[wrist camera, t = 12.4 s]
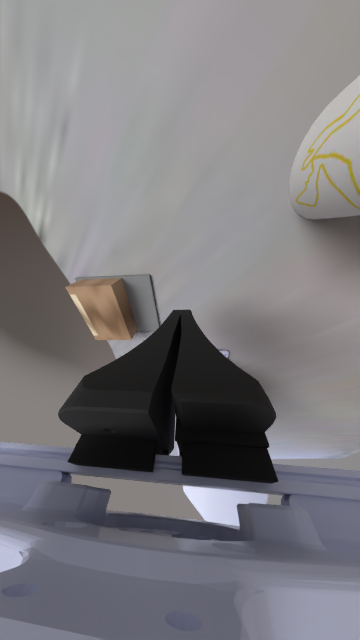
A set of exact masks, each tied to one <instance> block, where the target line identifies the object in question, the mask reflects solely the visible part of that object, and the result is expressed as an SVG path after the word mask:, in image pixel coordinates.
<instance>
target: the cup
mask: <svg viewBox="0 0 360 640" xmlns="http://www.w3.org/2000/svg"><path fill="white" fill-rule="evenodd" d="M289 195H290V200H291V204H292V206H293V208H294V209H295V211H296V212H297V213H298V214H299V215H301V216H302V217H304V218H307V219H326V218H337V217H349V216H360V75H359V76H358V77H357V78H356V79H355V80H354V81H353V82H352V83H351V84H350V85H348V86H347V87H346V88H345V89H344V90H343V91H342V92H341V93H340V94H339V95H338V96H337V97H335V98H334V99H333V100H332V101H331V103H330V104H329V105H328V106H327V107H326V108H325V109H324V110H323V112H322V113H321V114H320V115H319V117H318V118H317V119H316V121H315V122H314V124H313V125H312V126H311V128H310V130H309V131H308V133H307V135H306V136H305V138H304V140H303V142H302V144H301V146H300V148H299V150H298V153H297V155H296V158H295V160H294V163H293V167H292V170H291V175H290V182H289Z"/></svg>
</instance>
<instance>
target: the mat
mask: <svg viewBox="0 0 360 640" xmlns="http://www.w3.org/2000/svg"><path fill="white" fill-rule="evenodd" d="M108 278H122V281H123V284H124V287H125V290H126V294H127V297H128V300H129V303H130V306H131V309H132V313H133V316H134V319H135V322H136V325H137V330H136V332H155V331H156V330H157V329H158V328H159V327H160V326H159V321H158V316H157V310H156V305H155V300H154V294H153V289H152V283H151V278H150V275H126V276H101V277H77V278H75V280H76V282H78V281H80V280H85V279H108Z"/></svg>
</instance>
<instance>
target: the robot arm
mask: <svg viewBox="0 0 360 640" xmlns="http://www.w3.org/2000/svg"><path fill="white" fill-rule="evenodd" d="M225 354H226V355H225ZM228 355H229V352H228V351H226V350H218V349H217V348H216V347H215V346H214V345H213V344H212V343H211V342H210V341H209V340H208V339H207V337H206V336H205V335H204V334H203V332H202V331H201V329H200V328H199V326H198V325H197V323H196V321H195V320H194V317H193V315H192V312H191V310H173V311H172V312H171V314H170V315H169V316H168V318H167V319H166V320H165V321H164V322H163V324H162V325H161V326H160V327H159V328H158V329H157V330H156V331H155V332H154V333H153V334H152V335H151V336H150V337H148V338H147V339H146V340H145V341H144V342H142V343H141V344H139V345H138V346H137V347H135V348H134V349H132V350H131V351H129V352H128V353H126V354H125V355H123V356H121V357H120V358H118V359H116V360H115V361H113V362H111V363H109V364H108V365H105V366H103V367H101V368H100V369H98V370H96V371H94V372H92V373H90V374H88V375H86V376H84V377H83V379H82V380H81V381H80V383H79V384H78V385H77V387H76V388H75V390H74V391H73V392H72V394H71V395H70V396H69V398H68V399H67V400H66V402H65V403H64V405H63V406H62V407H61V409H60V410H59V413H58V416H59V418H60V420H61V421H62V422H64V423H65V424H66V425H68V426H69V427H71V428H73V429H74V430H76V431H77V432H79V433H80V434H82V435H81V437H80V439H79V441H78V442H77V444H76V446H75V448H70V447H59V446H46V445H33V444H22V443H10V442H0V640H360V471H352V470H341V469H328V468H316V467H304V466H292V465H279V464H272V461H271V458H270V455H269V453H268V450H267V448H268V447H269V443H268V440H267V437H266V435H265V431H266V430H267V429H268V428H269V427H270V426H271V425H272V424H273V422H274V421H275V419H276V413H275V411H274V408H273V406H272V404H271V402H270V400H269V398H268V396H267V395H266V393H265V391H264V390H263V388H262V386H261V385H260V383H259V381H257V380H256V379H255V378H253V377H252V376H250V375H249V374H247V373H246V372H245V371H243V370H242V369H240V368H239V367H237V366H236V365H235V364H234V363H232V362H231V361H230V360H229V359H228ZM175 413H176V431H175ZM174 433H175V441H177V444H178V455H179V456H169V454H170V453H171V452H172V450H173V449H174ZM70 474H74V475H84V476H95V477H104V478H115V479H125V480H134V481H144V482H155V483H164V484H175V485H183V491H184V493H185V494H186V496H187V497H188V498H189V500H190V501H191V502H192V504H193V505H194V506H195V508H196V509H197V510H198V512H199V513H200V514H201V516H202V517H203V518H204V520H205V521H200V520H193V519H186V518H178V517H170V516H160V515H152V514H143V513H132V512H123V511H113V510H106V508H107V504H108V501H109V497H110V494H111V491H110V490H108V489H102V488H96V487H91V486H87V485H79V484H72V483H71V478H72V477H71V475H70ZM268 494H273V495H283V497H282V499H281V505H269V504H267V501H268V499H269V496H268Z"/></svg>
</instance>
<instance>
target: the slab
mask: <svg viewBox="0 0 360 640" xmlns="http://www.w3.org/2000/svg"><path fill="white" fill-rule="evenodd" d="M66 289H67V291H68V293H69V294H70V296H71V298H72V299H73V301H74V303H75V305H76V306H77V308H78V310H79V311H80V313H81V315H82V317H83V318H84V320H85V322H86V323H87V325H88V327H89V328H90V330H91V332H92V334H93V335H94V337H95V339H96V340H131V339H132V337H133V336H134V334H135V332H136V330H137V325H136V322H135V319H134V316H133V313H132V309H131V306H130V303H129V300H128V297H127V294H126V290H125V287H124V284H123V281H122V278H108V279H85V280H80V281H78V282H75V283H73V284H71V285H69V286H67V287H66Z"/></svg>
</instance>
